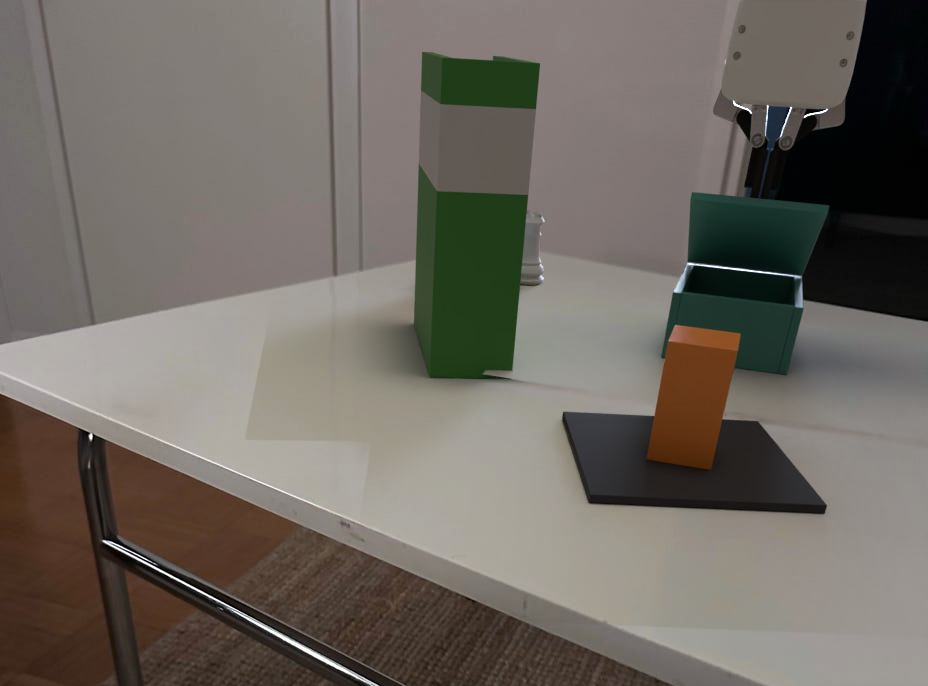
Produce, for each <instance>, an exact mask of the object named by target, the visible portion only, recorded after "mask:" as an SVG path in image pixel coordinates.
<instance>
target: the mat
mask: <svg viewBox="0 0 928 686" xmlns="http://www.w3.org/2000/svg"><path fill="white" fill-rule="evenodd" d="M561 419H562V421H563V425H564V428H565V431H566V434H567V437H568V441H569V444H570V446H571V449H572V452H573V456H574V459H575V462H576V465H577V468H578V471H579V472H578V473H579V475H580V478H581V481H582V483H583V484H582V485H583V487H584V490H585V493H586V496H587V500H588V502H589V503H590V504H592V503H593V504H613V505H614V504H615V505H634V506H635V505H637V506H658V507H660V506H661V507H677V508H678V507H680V508H681V507H682V508H703V509H704V508H705V509H725V510H746V511H747V510H748V511H767V512H768V511H771V512H775V511H776V512H791V513H793V512H794V513H815V514H818V513H819V514H826V511H827V509H828V504H827V503H826V501H824V499H822V497H821V496H820V495H819V494H818V492H817V491H816V490H815V489H814V488H813V486H812V485H811V484H810V483H809V481H808V480H807V479H806V478H805V477H804V475H803V474H802V473H801V471H800V470H799V468H797V467H796V466H795V464H794V463H793V462H792V461H791V459H790V458H789V457H788V455H787V454H786V453H785V452H784V451H783V449H781V447H780V446H779V445H778V444H777V442H776V441H775V440H774V438H773V437H772V436H771V435H770V434H769V433H768V431H767V430H766V429H765V428H764V427H763V425H762V424H761V423H760V422H759V421H758V420H747V419H745V420H744V419H724V418H723V419H722V423H721V428H720V432H719V437H718V441H717V445H716V450H715V454H714V459H713V463H712V468H711V470H707V469H701V468H695V467H689V466H683V465H677V464H671V463H665V462H658V461H652V460H647V453H648V448H649V443H650V437H651V432H652V426H653V421H654V415H643V414H625V413H624V414H622V413H621V414H620V413H602V412H581V411H580V412H579V411H562V416H561Z"/></svg>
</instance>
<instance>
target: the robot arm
mask: <svg viewBox="0 0 928 686" xmlns="http://www.w3.org/2000/svg"><path fill="white" fill-rule="evenodd" d="M867 2H868V0H739V2H738V6H737V9H736V13H735V17H734V20H733V25H732V29H731V34H730V38H729V42H728V46H727V51H726V56H725V60H724V65H723V71H722V77H721V78H722V79H721V88H720V91H719V93H718V95H717V98H716V100H715V103H714V105H713V108H712V113H713V115H714V116H715V117H718V118H720V119H723V120H725V121H728V122H731V123H733V124H736V125H738V126H739V128H740V129H741V131H742V132H743V134H744V135H745V137H746V139H747V140H748V142H749V143H750V146H751V152H750V157H749V161H748V165H747V170H746V175H745V180H744V185H743V188H747V189H751V190H750V196H749V198H759V199H769V200H770V194H771V191H776V192H779V191H780V187H781V182H782V179H783V174H784V170H785V165H786V161H787V156H788V153H789V150H790V149H791V148H792V147H793V146H794V145H796V144H797V143H799V141H802V139H803V138H805V137H806V136H807V135H809V134H810V133H811V132H812V131H817V130H823V129H829V128H834V127H839V126H841V125H842V124H844V122H845V119H846V96H847V93H848V90H849V87H850V86H851V85H850V84H851V81H852V77H853V74H854V69H855V65H856V61H857V57H858V56H857V55H858V52H859V47H860V42H861V37H862V32H863V26H864V23H865V22H864V21H865V17H866V16H865V15H866V8H867ZM738 104H744V105H752V106H751V110H750V109H749V108H745V107H744V106H740V105H738ZM769 107H778V108H779V107H781V108H790V109H789V112H788V114H787V117H786V119H785V123H784V125H783V127H782V130H781V134H780V136H779V137H777V138H776V139H775V141H774V145H773V147H771V148H769V147H768V145H769V141H770V139H769V137H768V136H767V127H768V112H769V111H768V110H769ZM807 109H808V110H823V111H818V112H813V113H807V114H806V111H807ZM805 114H806V115H805ZM769 152H770V153H769ZM766 165H767V166H766ZM764 174H765V175H764ZM759 196H760V197H759Z"/></svg>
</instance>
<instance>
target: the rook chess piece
mask: <svg viewBox="0 0 928 686" xmlns="http://www.w3.org/2000/svg"><path fill="white" fill-rule="evenodd" d="M543 215H544V212H542V211H538V210H533V211H532V213H531V210H530V209H527V215H526V226H525V237H524V248H523V259H522V270H521V281H520V285H523V286H537V285H540V284H542V282H543V281H544V277H543V276H542V275H543V274H544V273H545V269H544V266H543V265H542V260H541V256H540V239H541V237H542V233H541V228H542V227H543V225H544V224H545V223H546V221H545V219H544V217H543Z"/></svg>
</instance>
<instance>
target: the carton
mask: <svg viewBox="0 0 928 686" xmlns="http://www.w3.org/2000/svg"><path fill="white" fill-rule="evenodd" d="M740 336H741V334H740V333H733V332H726V331H718V330H710V329H703V328H695V327H687V326H680V325H675V326H674V328H673V331H672V333H671V336H670V338H669V340H668V344H667V350H666V355H665V359H664V361H663V367H662V372H661V378H660V382H659V388H658V394H657V400H656V404H655V410H654V415H653V416H654V421H653V426H652V432H651V437H650V443H649V448H648V453H647V460H652V461H658V462H665V463H671V464H677V465H683V466H689V467H695V468H701V469H707V470H711V468H712V463H713V459H714V454H715V450H716V445H717V441H718V437H719V432H720V428H721V423H722V419H724V414H725V409H726V404H727V400H728V396H729V392H730V387H731V383H732V378H733V374H734V370H735V368H734V366H735V361H736V357H737V352H738V347H739V341H740Z"/></svg>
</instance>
